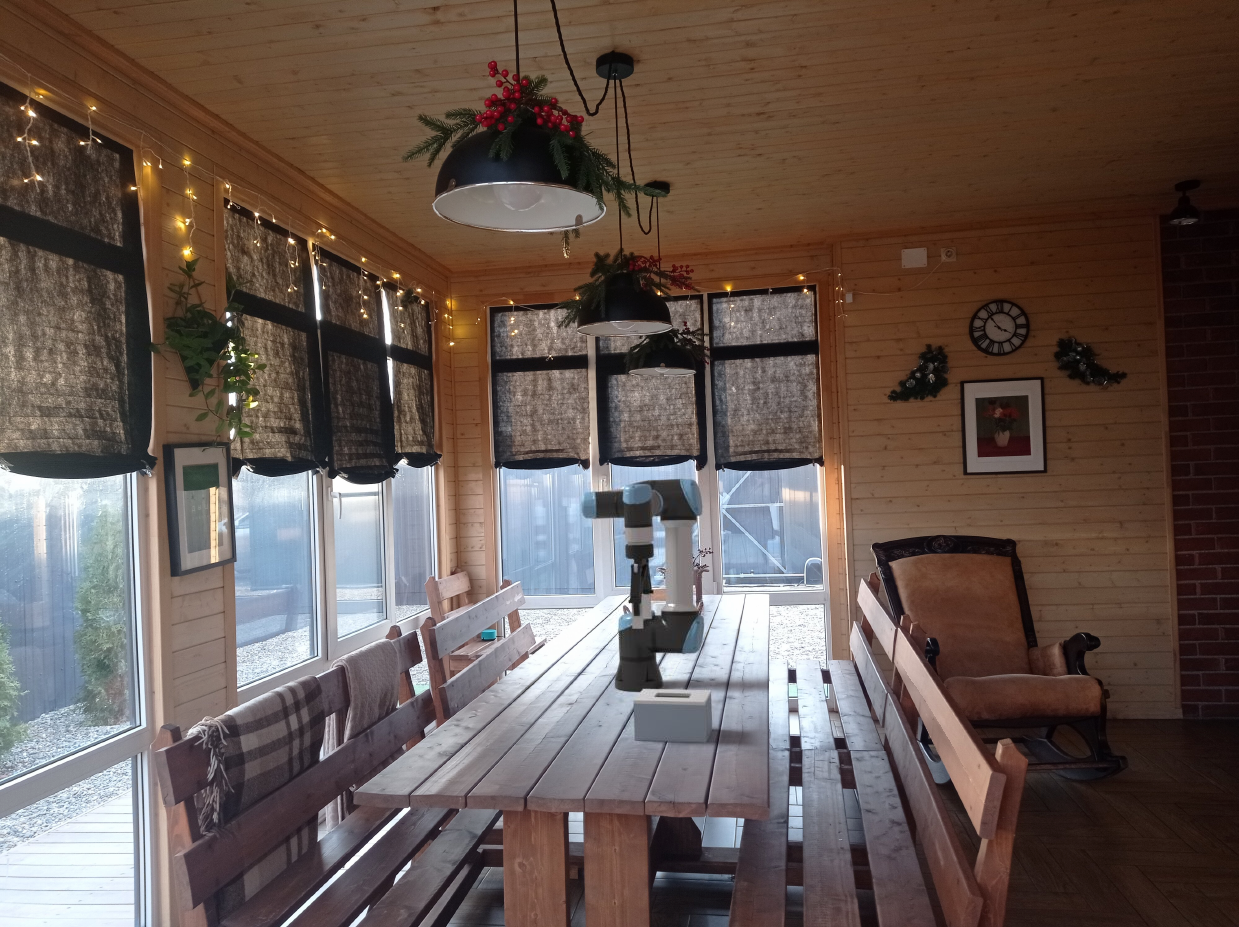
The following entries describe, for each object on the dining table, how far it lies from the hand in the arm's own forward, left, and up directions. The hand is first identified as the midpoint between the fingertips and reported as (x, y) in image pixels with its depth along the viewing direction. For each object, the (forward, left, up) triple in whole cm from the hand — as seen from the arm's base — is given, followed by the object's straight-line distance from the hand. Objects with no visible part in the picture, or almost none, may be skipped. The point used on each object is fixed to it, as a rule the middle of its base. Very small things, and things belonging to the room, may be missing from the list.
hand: (642, 623), depth 242 cm
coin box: (+6, +9, -27) cm, 29 cm away
